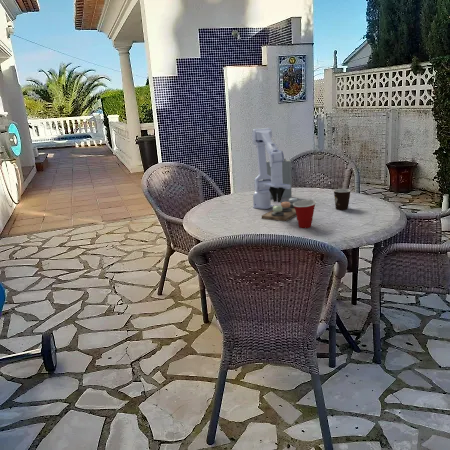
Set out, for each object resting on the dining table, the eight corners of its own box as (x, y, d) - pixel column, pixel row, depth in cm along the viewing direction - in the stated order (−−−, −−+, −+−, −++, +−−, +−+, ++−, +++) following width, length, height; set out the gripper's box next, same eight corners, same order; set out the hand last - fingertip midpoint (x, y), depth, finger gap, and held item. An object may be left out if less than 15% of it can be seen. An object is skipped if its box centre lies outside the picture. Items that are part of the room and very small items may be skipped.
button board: (261, 218, 220) (261, 213, 219) (285, 206, 241) (285, 201, 240) (285, 221, 212) (285, 216, 211) (308, 208, 233) (308, 204, 232)
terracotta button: (279, 207, 225) (279, 203, 224) (283, 204, 228) (283, 201, 228) (287, 207, 222) (287, 204, 221) (291, 205, 226) (291, 202, 225)
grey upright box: (291, 195, 264) (290, 155, 257) (291, 197, 260) (290, 156, 253) (263, 196, 267) (262, 156, 260) (263, 198, 263) (261, 157, 256)
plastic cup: (290, 224, 206) (290, 200, 203) (312, 222, 207) (312, 198, 204) (295, 231, 196) (295, 205, 193) (318, 229, 197) (318, 204, 193)
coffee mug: (350, 210, 223) (351, 192, 220) (333, 210, 225) (334, 192, 222) (349, 205, 234) (349, 187, 231) (333, 205, 236) (333, 187, 233)
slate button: (287, 203, 232) (287, 199, 231) (291, 201, 235) (291, 197, 235) (295, 203, 229) (295, 200, 228) (299, 201, 233) (298, 198, 232)
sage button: (271, 211, 218) (271, 207, 217) (275, 208, 221) (275, 205, 221) (279, 212, 215) (279, 208, 214) (283, 209, 219) (283, 206, 218)
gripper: (260, 176, 214) (261, 202, 218) (286, 177, 206) (286, 204, 210) (267, 173, 219) (267, 199, 223) (292, 175, 211) (292, 201, 215)
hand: (277, 201), depth 217 cm, fingers closed
